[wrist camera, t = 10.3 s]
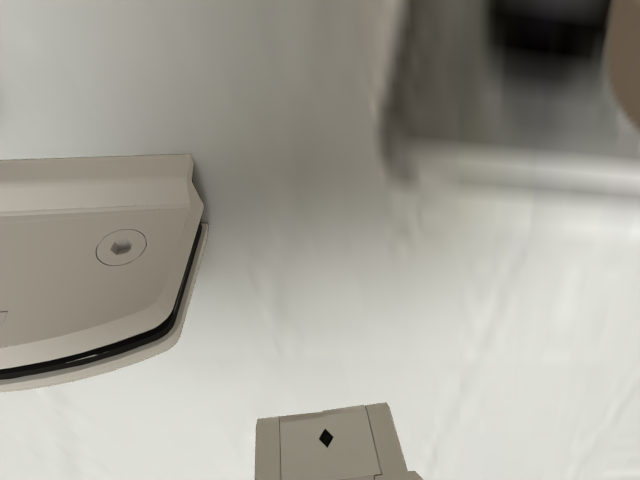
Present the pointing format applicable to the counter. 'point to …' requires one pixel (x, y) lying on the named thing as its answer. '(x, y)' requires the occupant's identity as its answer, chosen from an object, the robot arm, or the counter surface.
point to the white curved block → (94, 263)
